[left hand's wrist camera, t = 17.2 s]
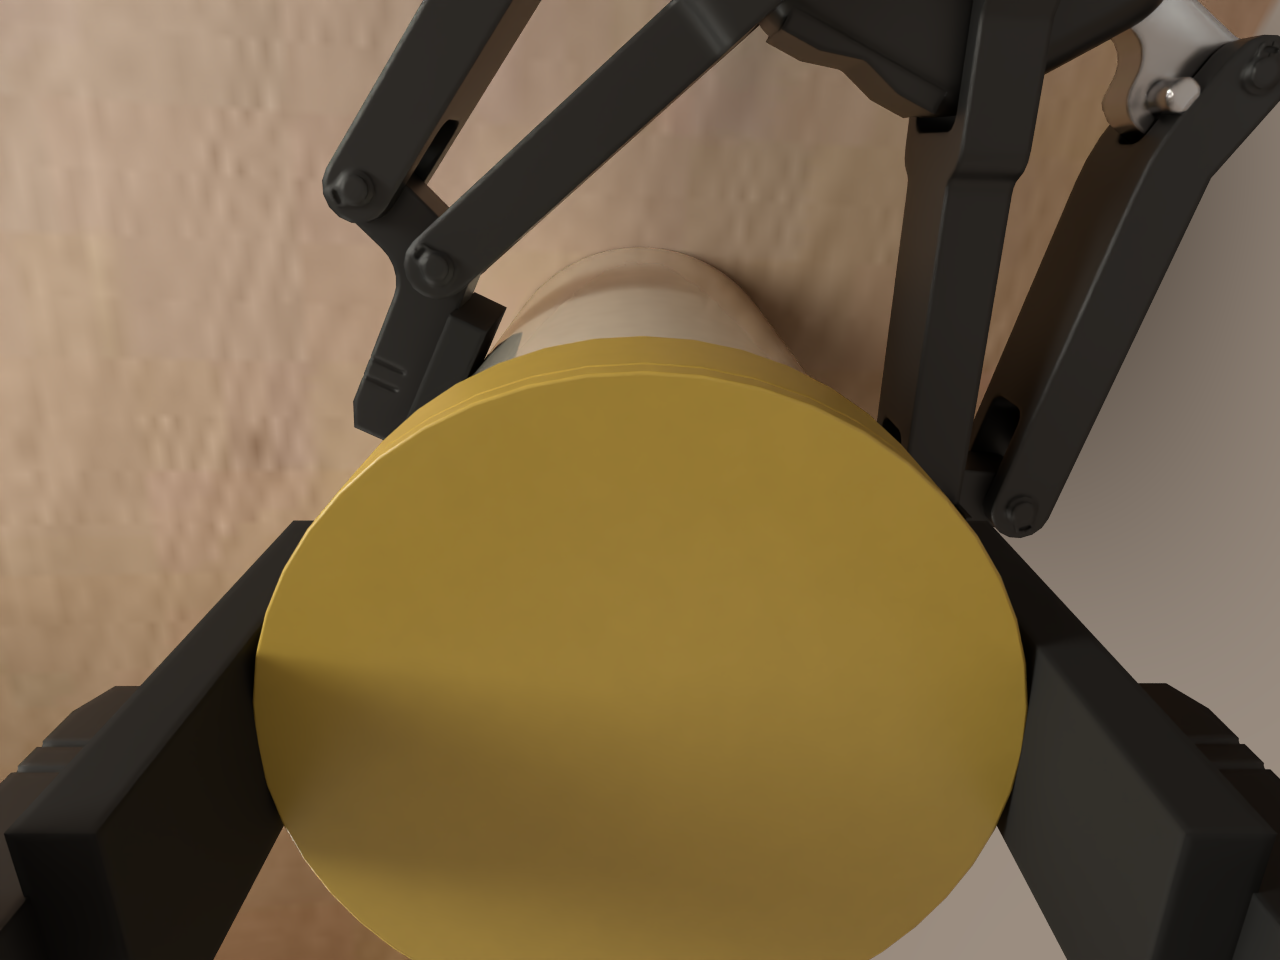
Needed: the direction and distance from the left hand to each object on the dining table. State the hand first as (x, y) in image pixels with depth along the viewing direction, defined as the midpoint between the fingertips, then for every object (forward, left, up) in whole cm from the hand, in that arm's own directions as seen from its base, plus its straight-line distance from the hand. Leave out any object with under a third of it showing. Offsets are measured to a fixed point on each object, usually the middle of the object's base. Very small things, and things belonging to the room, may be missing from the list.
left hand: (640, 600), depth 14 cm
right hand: (-5, -1, -6) cm, 7 cm away
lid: (0, 0, +3) cm, 3 cm away
